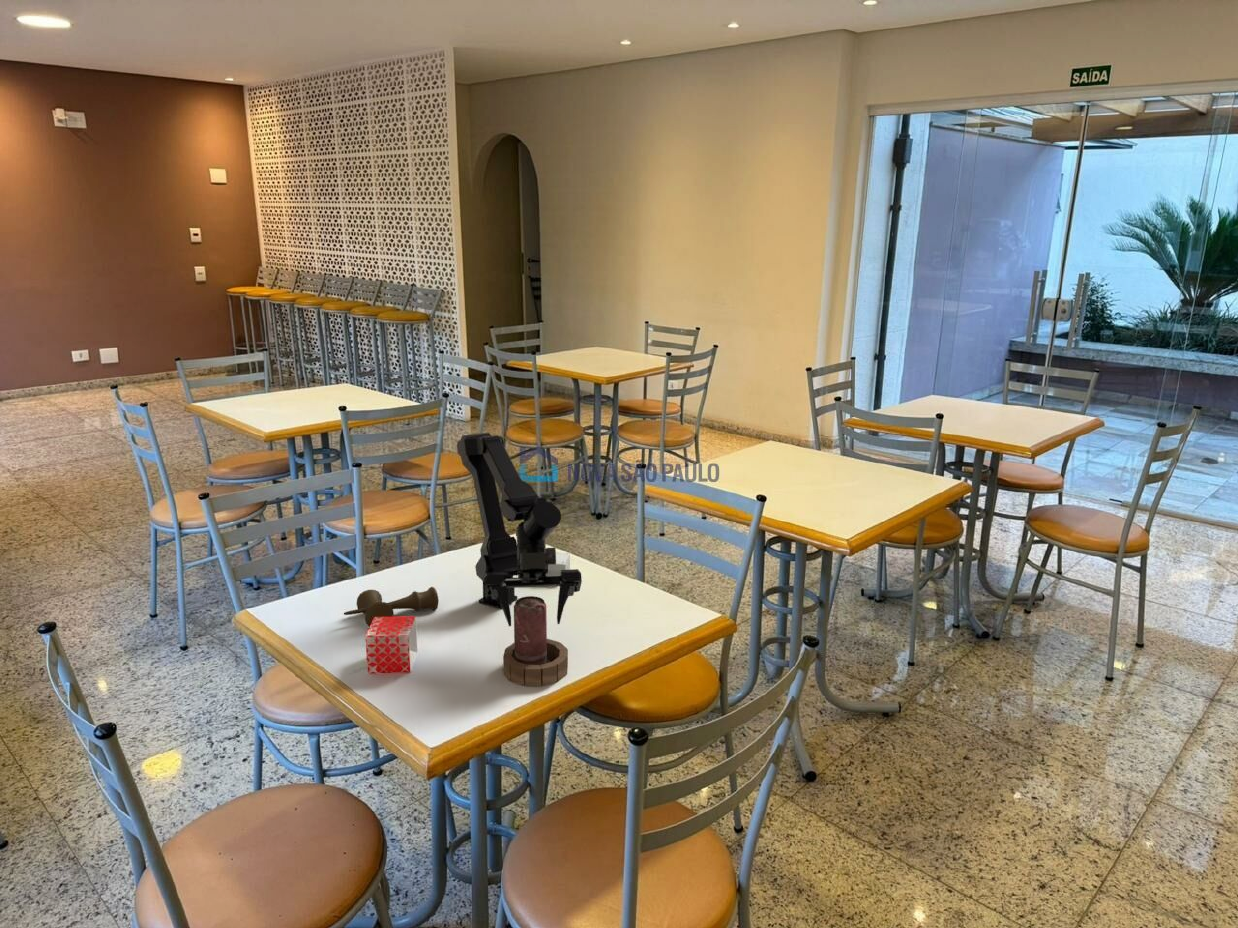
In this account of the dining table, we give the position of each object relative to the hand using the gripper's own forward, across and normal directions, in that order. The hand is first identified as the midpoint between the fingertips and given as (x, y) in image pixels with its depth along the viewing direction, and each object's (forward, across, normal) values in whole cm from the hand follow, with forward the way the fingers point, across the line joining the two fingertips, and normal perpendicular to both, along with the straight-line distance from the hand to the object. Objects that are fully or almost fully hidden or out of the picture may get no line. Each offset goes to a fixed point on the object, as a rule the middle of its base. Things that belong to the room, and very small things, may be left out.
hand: (534, 624), depth 155 cm
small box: (-24, +6, +36) cm, 44 cm away
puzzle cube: (+4, -27, +9) cm, 29 cm away
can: (+7, -1, +5) cm, 9 cm away
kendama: (-11, -30, +24) cm, 39 cm away
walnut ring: (+8, 0, +4) cm, 9 cm away
